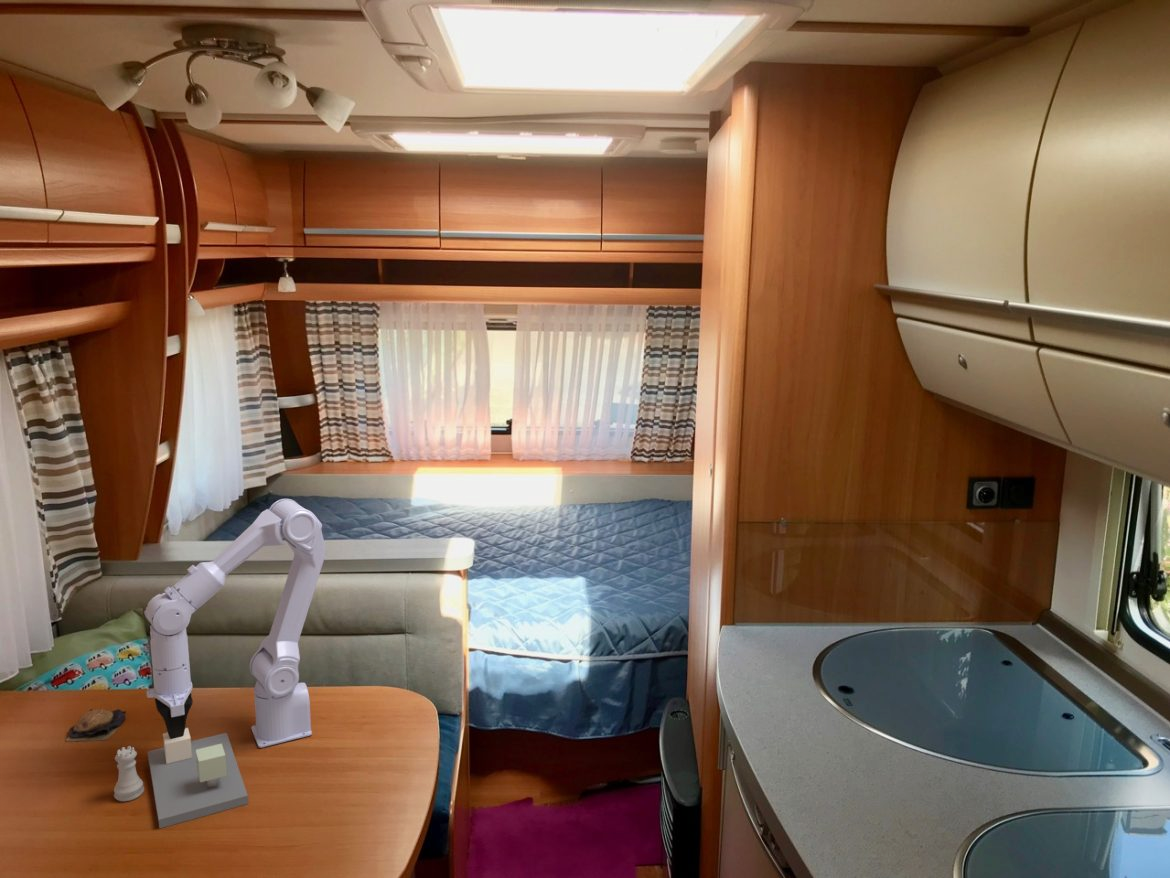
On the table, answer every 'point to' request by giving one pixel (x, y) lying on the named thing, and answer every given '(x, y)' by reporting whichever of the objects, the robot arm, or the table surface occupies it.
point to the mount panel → (194, 785)
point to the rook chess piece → (127, 776)
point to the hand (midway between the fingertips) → (176, 736)
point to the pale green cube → (211, 762)
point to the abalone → (96, 725)
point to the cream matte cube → (177, 747)
